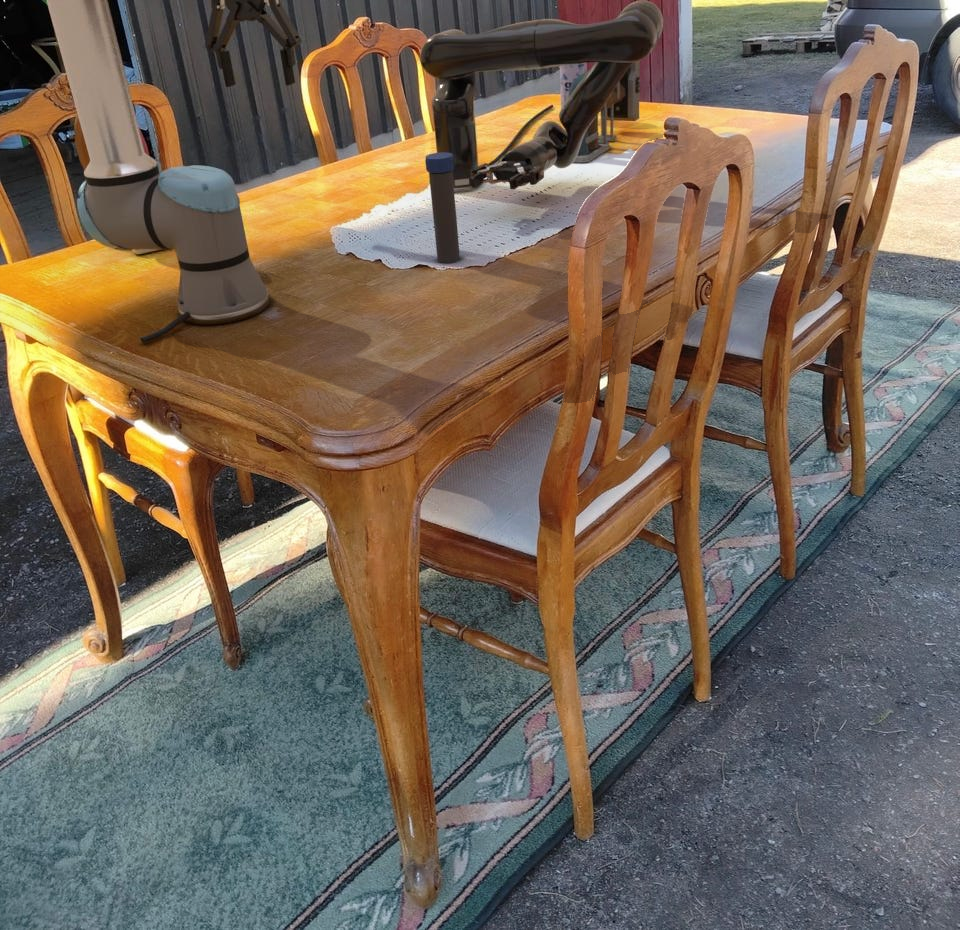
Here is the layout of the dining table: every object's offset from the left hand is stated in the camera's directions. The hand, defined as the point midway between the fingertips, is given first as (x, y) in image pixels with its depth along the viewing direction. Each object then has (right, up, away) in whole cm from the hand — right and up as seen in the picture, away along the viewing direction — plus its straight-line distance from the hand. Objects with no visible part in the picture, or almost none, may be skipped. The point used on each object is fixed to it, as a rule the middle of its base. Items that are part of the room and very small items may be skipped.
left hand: (260, 85), depth 196 cm
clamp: (+75, +5, +53) cm, 92 cm away
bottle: (+39, -39, -16) cm, 57 cm away
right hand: (+47, -22, -6) cm, 52 cm away
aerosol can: (+72, +22, +82) cm, 111 cm away
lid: (+37, -23, -25) cm, 51 cm away
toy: (-26, -31, +6) cm, 41 cm away
